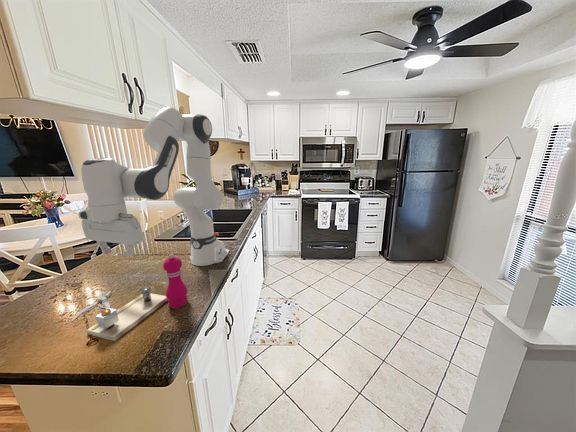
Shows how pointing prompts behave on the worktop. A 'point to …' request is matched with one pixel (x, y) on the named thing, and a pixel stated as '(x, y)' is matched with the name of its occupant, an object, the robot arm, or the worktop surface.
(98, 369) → the worktop surface
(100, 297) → the pliers
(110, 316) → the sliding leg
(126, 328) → the board
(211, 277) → the worktop surface
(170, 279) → the pepper mill
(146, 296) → the fixed leg
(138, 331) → the worktop surface
